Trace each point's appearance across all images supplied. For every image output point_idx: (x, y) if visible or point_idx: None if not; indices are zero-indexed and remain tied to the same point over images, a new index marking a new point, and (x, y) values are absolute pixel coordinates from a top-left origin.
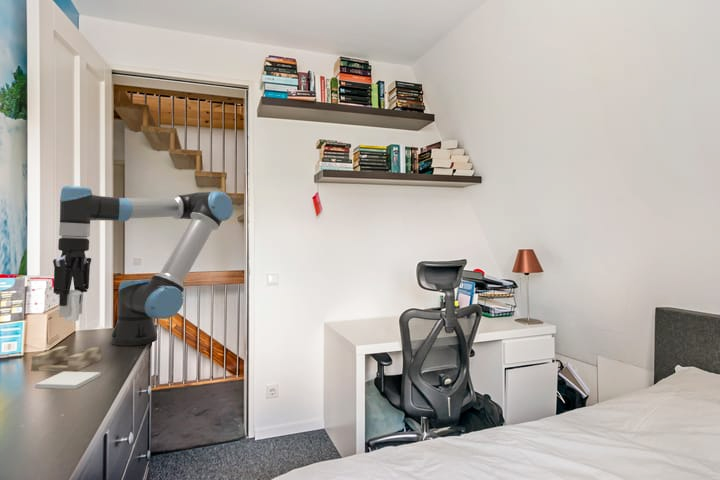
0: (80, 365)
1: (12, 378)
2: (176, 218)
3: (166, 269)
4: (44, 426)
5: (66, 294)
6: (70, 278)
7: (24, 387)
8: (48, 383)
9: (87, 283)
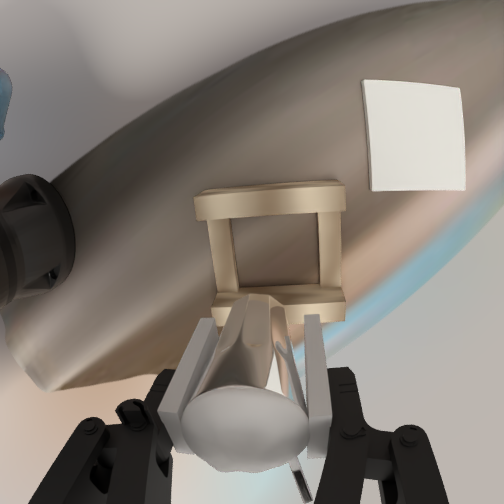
0: (311, 182)
1: (399, 293)
2: None
3: None
4: None
5: (362, 421)
6: None
7: (456, 216)
8: (461, 161)
9: (78, 452)
